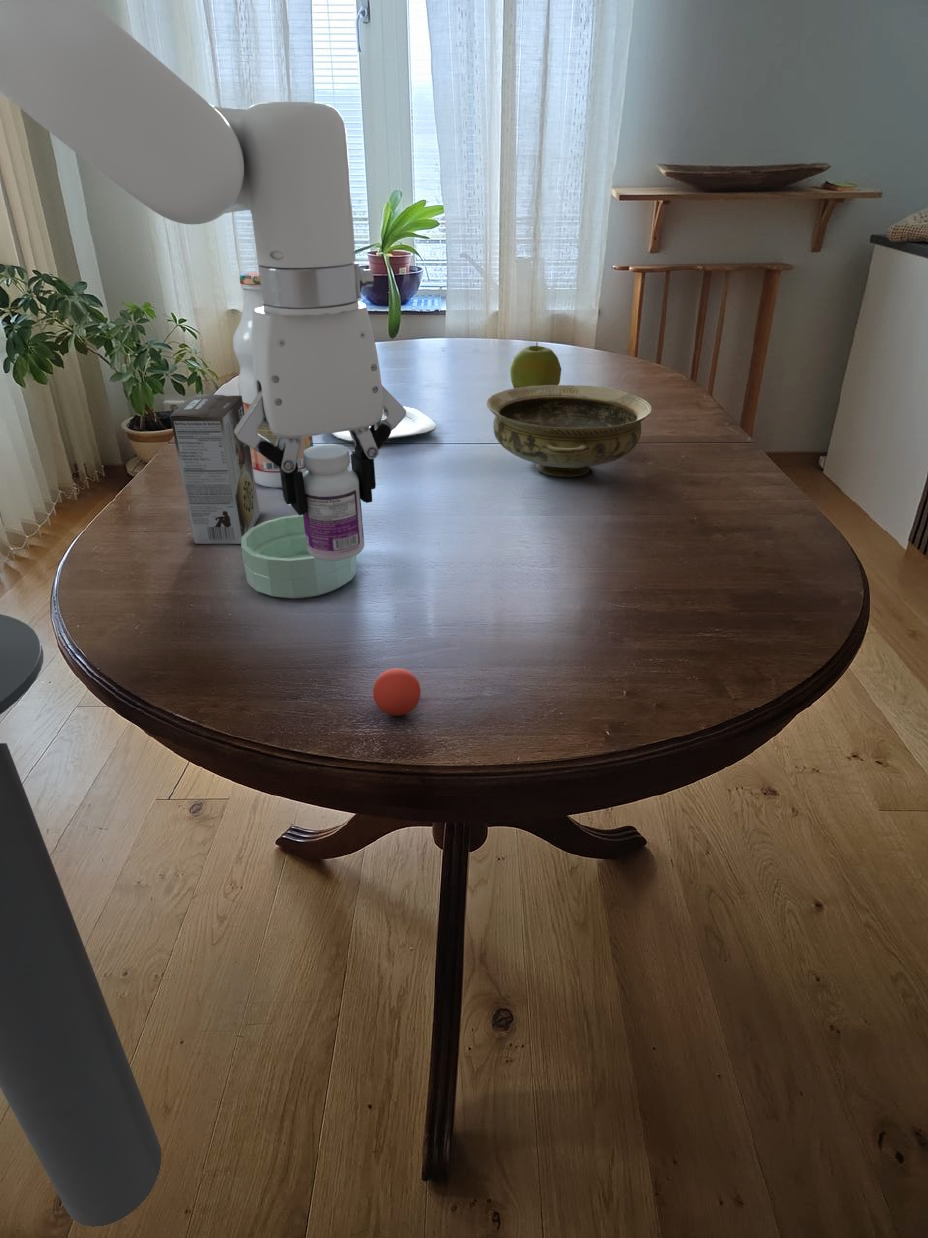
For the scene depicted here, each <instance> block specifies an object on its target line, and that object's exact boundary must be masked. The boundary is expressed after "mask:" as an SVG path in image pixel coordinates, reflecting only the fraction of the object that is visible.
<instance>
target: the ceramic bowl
mask: <svg viewBox="0 0 928 1238" xmlns="http://www.w3.org/2000/svg"><path fill="white" fill-rule="evenodd" d="M486 406H487V408H488V409H489V411H490V412H491V413H492V414H493V415H494V417H493V418H494V419H493V423H492V428H493V429H492V430H493V434H494V437H495V439H496V440H497V442H498V443H499V444H500V445H501V446H502V448H504V449H505V450H506V451H508V452H510V453H511V454H513V455H514V456H515V457H518V458H520V459H522V460H524V461H527V462H530V463H534V464H536V469H537V470H538V471H539V472H541V473H542V474H546V475H548V476H549V475H550V476H553V477H562V478H563V477H564V478H566V477H567V478H568V477H569V478H570V477H579V476H582V475H585V474H588V473H589V472H590V467H594V466H595V467H596V466H599V465H603V464H607V463H611V462H613V461H616V460H619V459H620V458H622V457H624V456H626V455H627V454H629V453H630V452H631V451H632V450H634V448H635V447H636V446H637V445H638V443H639V441H640V439H641V435H642V422H643V421H644V420H645V419H647V418H648V417H649V416H650V414H651V413H652V411H653V410H652V409H653V408H652V406H651V404H650V403H649V402H648V401H647V400H645V399H643V398H641V397H640V396H636V395H634V394H631V393H628V392H626V391H623V390H619V389H615V388H611V387H605V386H595V385H575V384H574V385H573V384H571V385H570V384H559V385H540V386H527V387H519V388H514V387H513V388H509V389H506V390H502V391H500V392H497V393H495V394H492V395H491V396H490V397H489V398H487V400H486Z"/></svg>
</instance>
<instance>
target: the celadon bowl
mask: <svg viewBox="0 0 928 1238" xmlns="http://www.w3.org/2000/svg"><path fill="white" fill-rule="evenodd" d="M240 548H241V554H242V559H243V565H244V571H245V578H246V582H247V584H248V585H249V586H250V587H251V588H252V589H253V590H255V591H256V592H259V593H262V594H265V595H268V596H270V597H275V598H281V599H307V598H313V597H318V596H322V595H325V594H326V595H327V594H328V593H331V592H334V591H335V590H337V589H340V588H341V587H343V586H344V585H346V584H347V583H350V581H352V580H353V578H354V577H355V575H356V573H357V571H358V561H357V555H355V556H353V557H351V558H349V559H345V560H340V561H325V560H320V559H317V558H315V557H313V556H312V555H311V554H310V553H309V552H308V549H307V544H306V537H305V529H304V520H303V515H298V514H295V515H294V514H293V515H284V516H280V517H276V518H272V519H269V520H265V521H263V522H261V523H259V524H256V525H254V526H253V527H252V528H250V529H249V530H248V531H247V532H246V533H245V534H244V535H243V536H242V538H241V544H240Z"/></svg>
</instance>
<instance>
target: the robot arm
mask: <svg viewBox="0 0 928 1238" xmlns="http://www.w3.org/2000/svg"><path fill="white" fill-rule="evenodd" d="M0 93H1V94H2V95H3V96H4V97H6V98H7V99H8V100H9V101H11V102H12V103H13V104H14V105H16V106H17V107H18V108H19V109H21V110H22V111H23V112H24V113H26V114H27V115H28V116H29V117H30V118H31V119H33V120H34V121H35V122H37V124H39V125H40V126H41V127H43V128H44V129H45V130H46V131H48V132H49V133H50V134H51V135H53V136H54V137H55V138H57V140H59V141H60V142H62V143H63V144H64V145H65V146H67V147H68V148H69V149H70V150H72V151H73V152H74V153H76V154H77V155H78V156H80V158H82V159H84V160H85V162H87V163H89V164H90V165H91V166H93V167H94V168H95V169H96V170H98V171H99V172H101V173H102V174H103V175H105V176H106V177H107V178H108V179H110V180H111V181H112V182H113V183H115V184H116V185H117V186H118V187H120V188H121V189H123V190H124V191H125V192H127V193H128V194H129V195H130V196H132V197H133V198H135V200H137V201H138V202H140V203H141V204H143V205H144V206H146V207H147V208H149V209H150V210H151V211H152V212H154V213H156V214H157V215H160V216H161V217H163V218H165V219H168V220H170V221H171V222H176V223H179V224H183V225H203V224H207V223H209V222H212V221H214V220H216V219H218V218H220V217H221V216H223V215H224V214H229V213H236V212H243V211H250V214H251V219H252V228H253V236H254V243H255V251H256V259H257V265H258V266H257V267H258V272H259V275H260V283H261V291H262V299H263V307H260V308H256V309H254V311H253V323H252V351H253V371H254V384H255V399H254V400H253V402H252V403H251V405H250V406H249V408H248V409H247V411H246V412H245V414H244V416H243V417H242V419H241V420H240V422H239V423H238V425H237V426H236V428H235V430H234V434H235V436H236V437H237V438H238V439H239V440H240V441H241V442H243V443H244V444H246V445H248V446H249V447H251V448H252V449H254V450H256V451H258V452H259V453H261V454H262V455H263V456H264V457H266V458H267V459H269V460H270V461H271V462H273V463H274V464H275V465H277V466H278V467H280V475H281V482H282V488H281V490H282V495H283V496H282V497H283V500H284V502H285V504H286V505H290V506H291V508H293V510H294V511H295V512H296V513H297V515H304V514H305V513H306V512H307V505H306V497H305V488H304V480H303V473H302V471H301V470H300V469H299V468H298V465H297V458H298V453H299V448H300V443H301V439H302V437H309V436H312V437H315V436H323V435H328V434H331V433H336V432H343V431H349V432H350V435H351V437H352V439H353V442H352V443H353V444H354V446H355V447H354V450H352V451H351V453H350V464H351V466H350V467H351V469H352V470H353V471H354V472H355V473H356V474H357V476H358V478H359V484H360V497H361V502H363V503H366V504H368V503H372V502H373V491H372V490H375V489H376V487H377V486H376V485H377V484H376V483H377V482H376V471H375V459H376V458H378V456H379V452H380V451H379V450H380V449H381V448H382V446H383V445H384V444H385V443H386V442H385V441H386V440H387V439H388V437H389V436H390V434H391V431H392V430H393V429H395V427H396V426H397V425H398V424H399V423H400V422H401V421H402V420H403V418H404V417H405V416H406V410H405V409H404V407H405V406H403V405H402V404H401V403H400V402H399V401H398V400H397V399H396V398H395V397H394V396H393V395H392V393H390V392H389V391H388V389H386V388H385V387H384V386H383V384H382V377H381V369H380V361H379V356H378V351H377V343H376V340H375V336H374V330H373V327H372V323H371V318H370V315H369V310H368V307H367V305H366V304H365V303H363V302H362V301H360V300H359V299H361V298H362V295H361V292H362V290H365V288H369V287H370V288H372V287H373V286H374V283H375V278H374V276H375V275H374V273H373V270H372V269H370V268H368V269H364V268H363V267H360V265H359V263H358V262H357V259H356V251H355V246H356V245H355V244H356V243H355V231H354V217H353V205H352V204H353V202H352V201H353V200H352V188H351V187H352V186H351V175H350V174H351V173H350V160H349V147H348V145H349V144H348V136H347V127H346V123H345V120H344V118H343V116H342V113H341V112H340V111H339V110H338V109H337V108H335V107H334V106H332V105H330V104H327V103H321V102H313V101H268V102H267V101H266V102H260V103H255V104H252V105H251V106H249V107H248V108H247V109H245V108H243V109H242V108H230V107H221V106H215V105H212V104H210V102H208V101H207V100H206V99H205V98H204V97H203V96H201V94H199V93H198V92H197V91H196V90H194V89H193V88H192V87H191V86H190V85H189V84H187V83H186V82H185V81H183V80H182V79H181V78H180V77H179V76H178V75H177V74H176V73H175V72H173V71H172V70H171V69H170V68H168V66H166V65H165V64H164V63H163V62H162V61H161V60H160V59H158V58H157V57H156V56H155V55H154V54H153V53H151V52H150V50H148V49H147V48H145V46H144V45H142V44H141V43H140V42H139V41H138V40H136V38H134V37H133V36H132V35H131V34H130V33H128V32H127V31H126V30H125V29H124V28H122V27H121V26H120V25H119V24H118V23H117V22H116V21H115V20H113V19H112V18H111V17H110V16H109V15H107V13H105V12H104V11H103V10H102V9H101V8H99V7H98V6H97V5H96V4H95V3H94V2H93V1H92V0H0ZM383 410H384V412H383ZM261 424H264V425H266V426H269V427H270V430H271V432H272V434H273V435H275V436H277V441H276V445H274V444H273V443H272V442H270V441H269V440H268V439H266V438H264V437H263V436H261V435H260V434H258V428H259V427H260V425H261ZM370 426H371V427H370ZM369 427H370V428H369Z"/></svg>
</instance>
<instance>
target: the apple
mask: <svg viewBox="0 0 928 1238" xmlns="http://www.w3.org/2000/svg"><path fill="white" fill-rule="evenodd" d="M509 372H510V382H511V385H512V388H513V389H514V388H519V387H527V386H540V385H560V383H561V376H562V367H561V363H560V361H559V358H558V356H557V355H556V354H555V352H554V351H553V350H552V349H551V348H549V347H545V346H540V345H539V344H538V341H536V345H531V346H529V345H528V346H525V347H523V348H522V349H521V350H519V352H518V353H516V354H515V355H514V356H513V359H512V361H511V364H510V365H509Z"/></svg>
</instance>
